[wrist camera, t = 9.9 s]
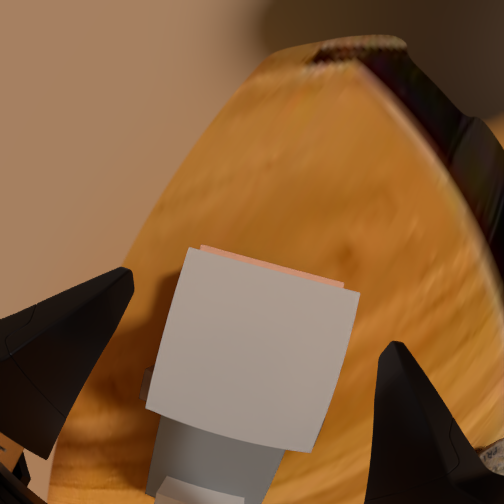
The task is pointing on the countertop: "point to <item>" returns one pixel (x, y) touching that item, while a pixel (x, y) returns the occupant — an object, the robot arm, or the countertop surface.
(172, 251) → the countertop surface
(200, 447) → the board
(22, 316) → the robot arm
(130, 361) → the countertop surface
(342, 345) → the grey block
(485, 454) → the fossilized seashell
